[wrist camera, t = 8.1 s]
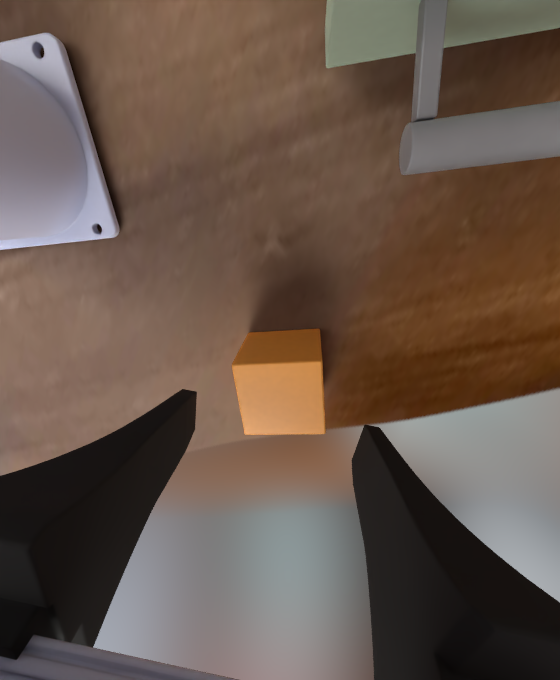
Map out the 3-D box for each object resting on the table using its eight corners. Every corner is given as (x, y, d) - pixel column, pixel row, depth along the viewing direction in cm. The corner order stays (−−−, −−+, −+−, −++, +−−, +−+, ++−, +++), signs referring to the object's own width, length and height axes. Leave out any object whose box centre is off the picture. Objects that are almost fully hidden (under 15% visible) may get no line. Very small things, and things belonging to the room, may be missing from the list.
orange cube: (257, 392, 19) (244, 435, 15) (248, 332, 17) (230, 364, 13) (322, 390, 18) (325, 434, 14) (319, 327, 16) (322, 360, 13)
